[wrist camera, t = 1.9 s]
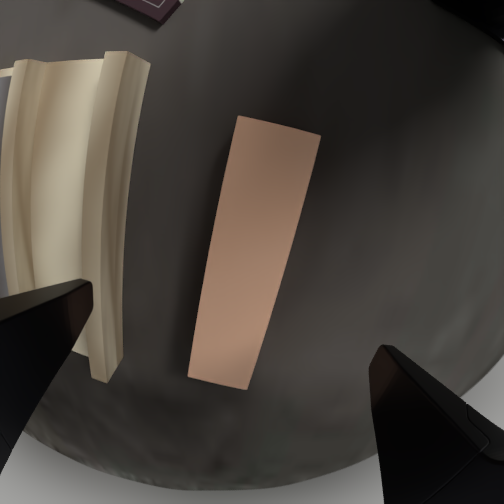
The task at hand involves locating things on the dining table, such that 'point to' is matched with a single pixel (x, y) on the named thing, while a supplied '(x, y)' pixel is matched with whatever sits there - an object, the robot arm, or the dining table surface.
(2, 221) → the cream desk organizer
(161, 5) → the chocolate bar
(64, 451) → the dining table surface
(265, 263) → the clay strip
